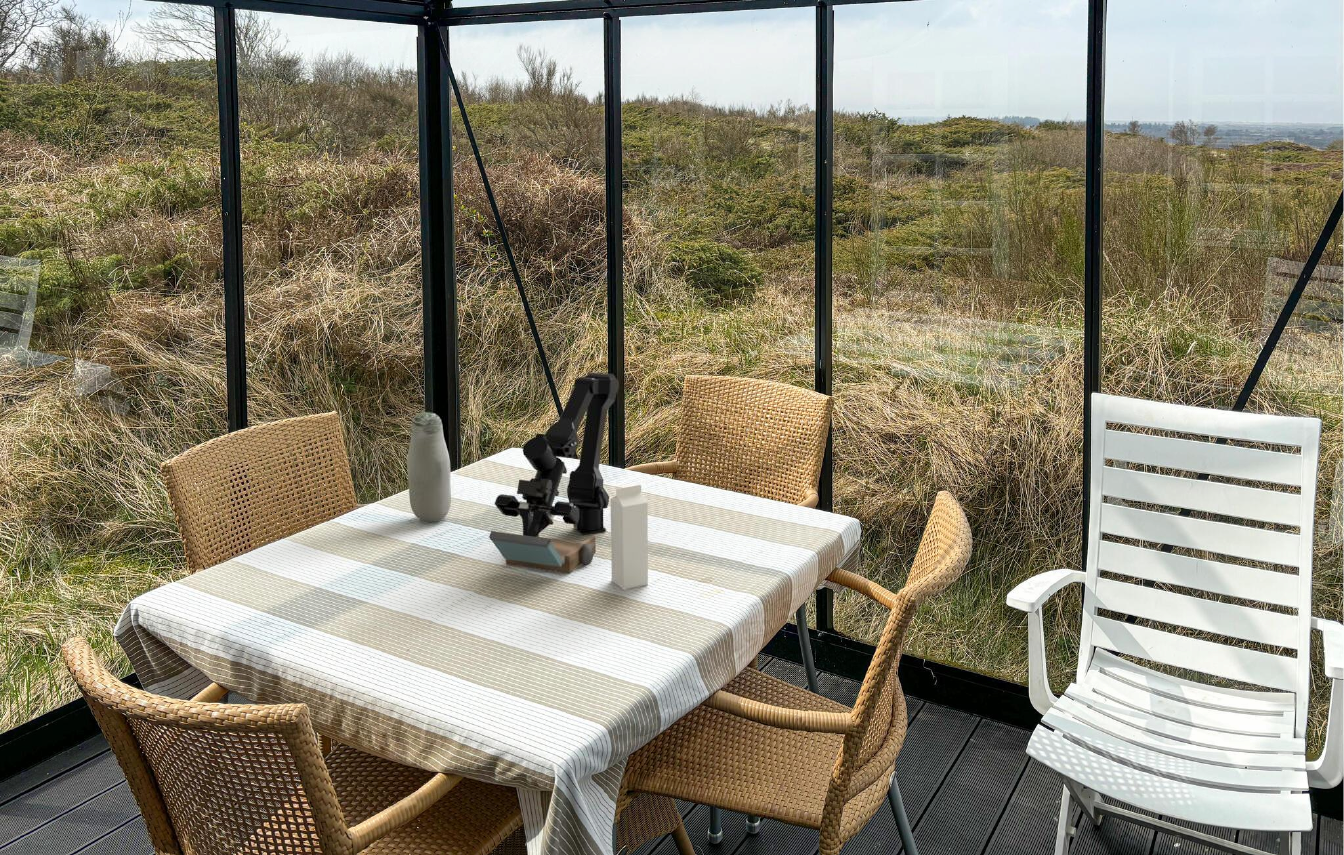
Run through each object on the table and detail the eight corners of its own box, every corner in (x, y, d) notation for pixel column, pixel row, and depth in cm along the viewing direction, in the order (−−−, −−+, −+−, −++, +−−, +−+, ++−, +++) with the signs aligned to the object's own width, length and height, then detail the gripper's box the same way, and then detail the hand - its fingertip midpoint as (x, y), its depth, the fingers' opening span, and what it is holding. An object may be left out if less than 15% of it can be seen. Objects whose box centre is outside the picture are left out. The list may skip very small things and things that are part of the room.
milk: (648, 585, 250) (648, 488, 245) (623, 590, 248) (622, 492, 242) (635, 575, 256) (635, 480, 250) (610, 580, 253) (610, 484, 247)
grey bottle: (403, 522, 290) (396, 414, 283) (433, 511, 298) (427, 406, 291) (430, 529, 285) (424, 419, 278) (460, 518, 293) (455, 411, 286)
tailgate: (507, 552, 260) (491, 530, 252) (563, 560, 255) (548, 538, 247) (504, 559, 259) (488, 537, 251) (560, 567, 254) (546, 545, 247)
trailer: (528, 543, 275) (527, 525, 274) (602, 553, 269) (602, 535, 268) (499, 563, 263) (498, 545, 262) (576, 574, 256) (576, 555, 255)
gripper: (496, 459, 256) (473, 522, 249) (572, 468, 250) (551, 532, 243) (514, 483, 266) (493, 544, 258) (588, 492, 259) (568, 554, 252)
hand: (525, 543), depth 253 cm, fingers closed, pressing on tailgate
